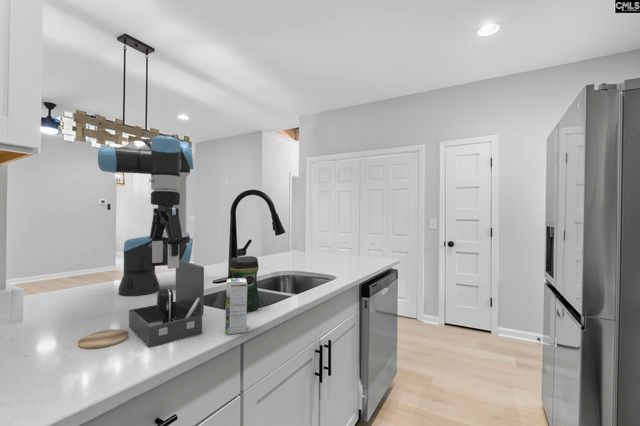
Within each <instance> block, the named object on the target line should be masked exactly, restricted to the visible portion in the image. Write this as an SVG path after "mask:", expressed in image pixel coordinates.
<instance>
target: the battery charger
mask: <svg viewBox="0 0 640 426" xmlns="http://www.w3.org/2000/svg"><path fill="white" fill-rule="evenodd" d="M156 296H157V297H156V305H157V309H158V311H159V312H163V314H164V319H163V320H162V321H161V323H160V324H162V323H167V322H171V321H174V318H173V302H174V293H173V290H172V289H171V288H164V289H159V291H157V295H156Z"/></svg>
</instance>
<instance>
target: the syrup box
mask: <svg viewBox="0 0 640 426" xmlns="http://www.w3.org/2000/svg"><path fill="white" fill-rule="evenodd" d="M225 289H226V290H225V291H226V292H225V321H224V323H225V325H224V326H225V335H227V336H228V335H236V334H243V333H247V321H248V320H247V318H248V317H247V315H248V314H247V280H246V279H243V278H233V279H232V278H228V279H226V288H225Z"/></svg>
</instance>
